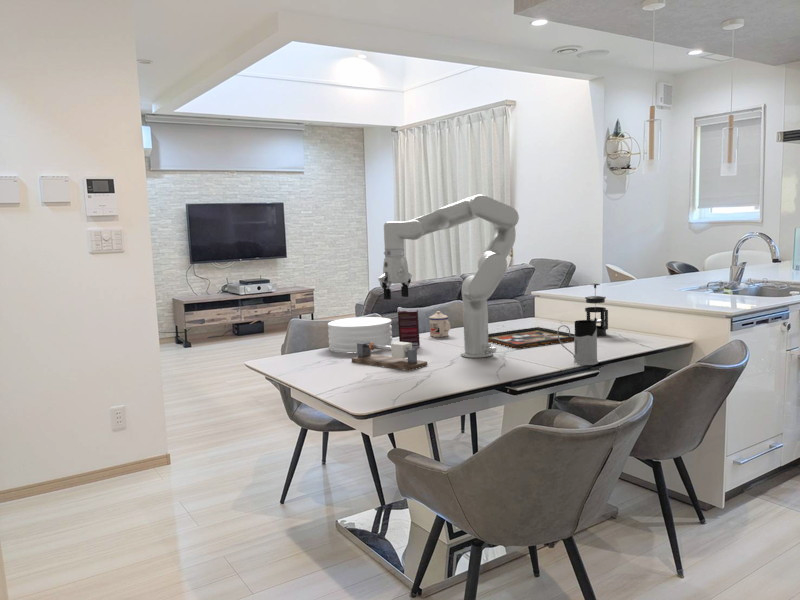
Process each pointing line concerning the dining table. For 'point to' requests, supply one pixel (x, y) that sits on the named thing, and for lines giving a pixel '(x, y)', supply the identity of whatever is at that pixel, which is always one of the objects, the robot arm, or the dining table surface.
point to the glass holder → (584, 342)
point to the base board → (389, 362)
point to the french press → (604, 320)
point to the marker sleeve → (400, 349)
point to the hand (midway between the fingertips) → (396, 297)
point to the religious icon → (529, 337)
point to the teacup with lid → (439, 325)
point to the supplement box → (409, 327)
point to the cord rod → (366, 348)
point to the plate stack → (359, 333)
